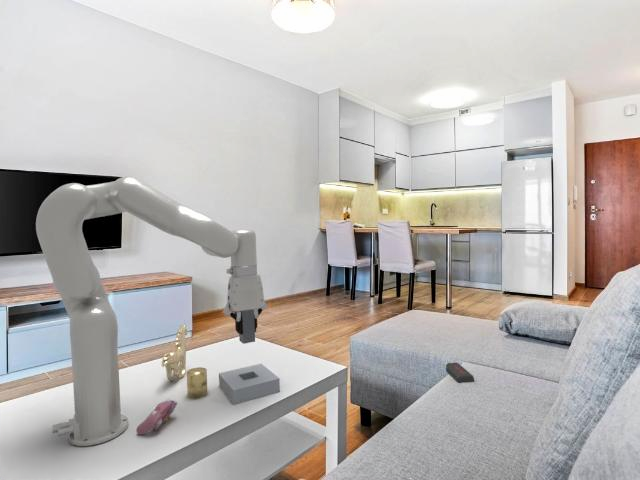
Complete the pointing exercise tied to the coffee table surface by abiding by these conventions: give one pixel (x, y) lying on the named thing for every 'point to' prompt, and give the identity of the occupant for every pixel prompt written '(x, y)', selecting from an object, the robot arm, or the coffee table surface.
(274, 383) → the socket block
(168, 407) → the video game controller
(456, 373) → the usb drive
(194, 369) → the round bit
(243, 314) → the square bit
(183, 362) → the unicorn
